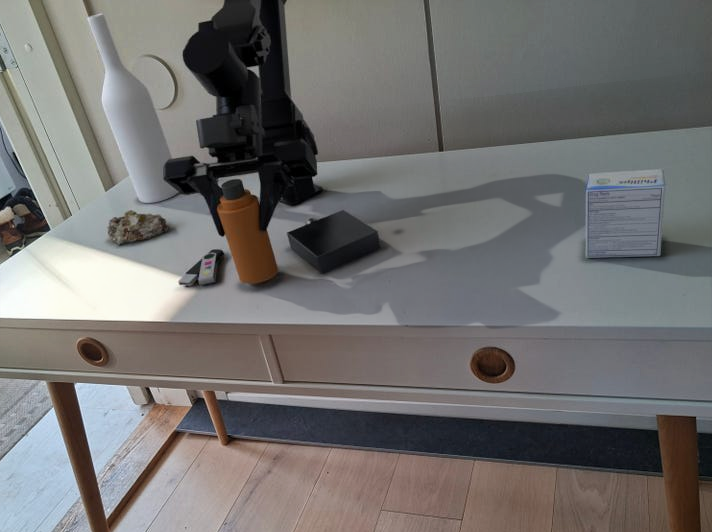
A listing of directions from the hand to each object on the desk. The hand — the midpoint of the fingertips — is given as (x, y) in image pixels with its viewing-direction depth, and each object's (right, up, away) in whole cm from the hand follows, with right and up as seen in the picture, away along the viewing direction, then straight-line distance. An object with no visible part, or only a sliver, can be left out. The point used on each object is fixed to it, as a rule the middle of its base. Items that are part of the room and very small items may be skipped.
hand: (241, 233), depth 87 cm
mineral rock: (-20, +5, +27) cm, 34 cm away
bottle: (-20, +14, +40) cm, 47 cm away
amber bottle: (+2, -4, +5) cm, 7 cm away
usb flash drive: (-6, -4, +10) cm, 12 cm away
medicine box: (+45, -3, -6) cm, 45 cm away
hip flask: (+12, -1, +8) cm, 14 cm away
